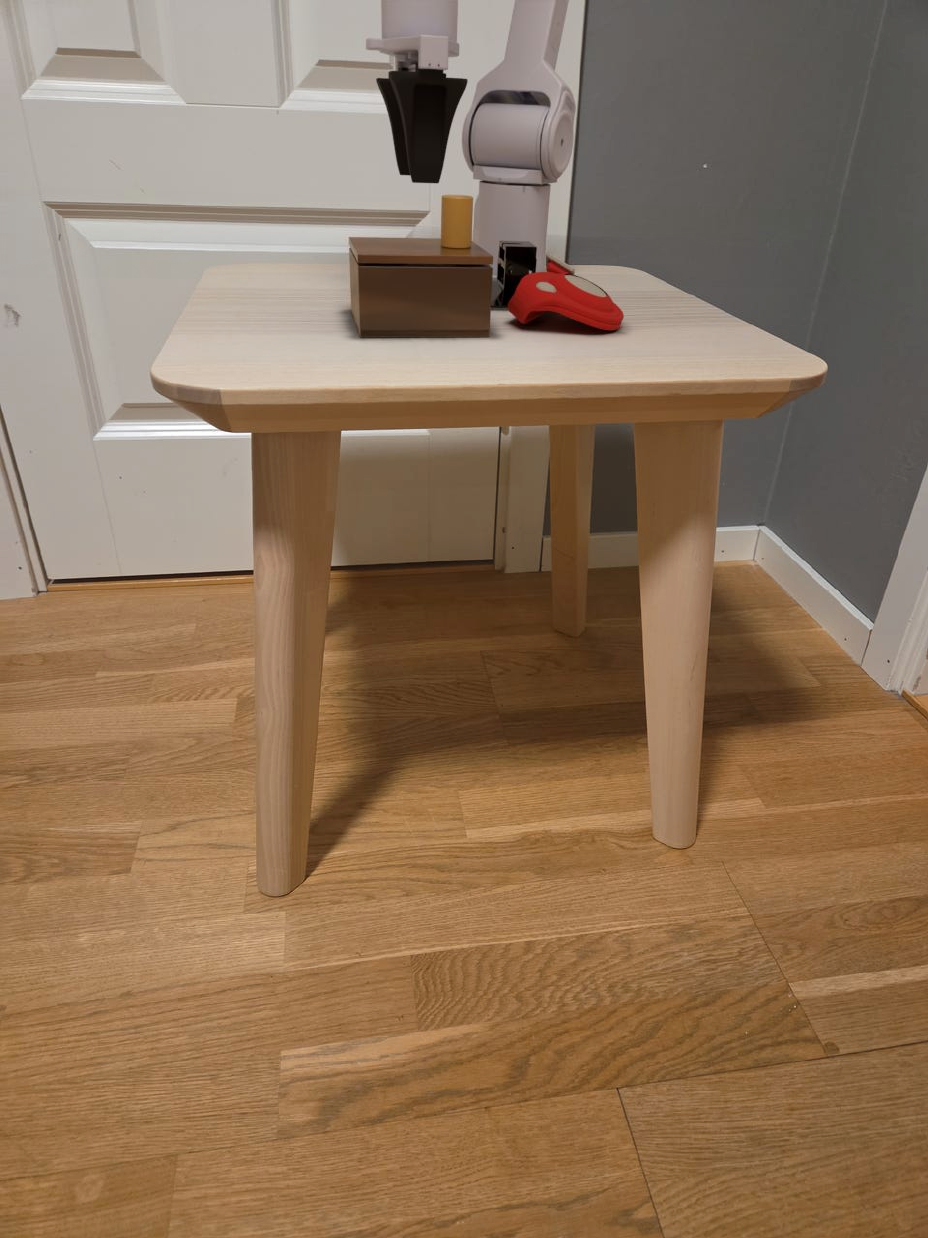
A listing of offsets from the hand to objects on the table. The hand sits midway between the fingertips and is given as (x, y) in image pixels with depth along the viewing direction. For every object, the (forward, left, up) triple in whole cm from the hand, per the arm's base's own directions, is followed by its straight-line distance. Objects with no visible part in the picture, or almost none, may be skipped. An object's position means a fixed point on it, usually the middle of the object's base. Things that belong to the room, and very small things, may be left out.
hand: (418, 178), depth 67 cm
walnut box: (+7, -1, -10) cm, 12 cm away
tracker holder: (+6, +12, -10) cm, 17 cm away
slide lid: (+7, -1, -5) cm, 8 cm away
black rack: (-5, +10, -10) cm, 15 cm away
